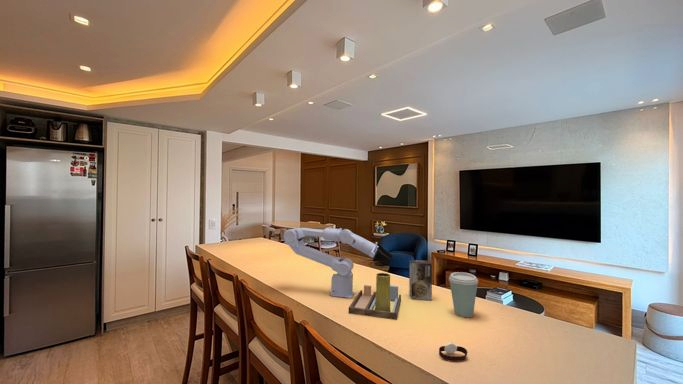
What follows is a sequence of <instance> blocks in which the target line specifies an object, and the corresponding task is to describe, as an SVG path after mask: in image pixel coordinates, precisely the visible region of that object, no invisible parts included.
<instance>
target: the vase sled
mask: <svg viewBox="0 0 683 384" xmlns="http://www.w3.org/2000/svg"><path fill="white" fill-rule="evenodd" d="M398 298H399V286H398V285H391V284H390V301H394V304H393V307H392V310H391V312H394V313H395V310H396V306H397V302H398ZM375 301H376V297H375V299H374V301H373V303H372V305H371V307H370V309H371V310H374V309H375Z"/></svg>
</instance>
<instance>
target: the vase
mask: <svg viewBox="0 0 683 384" xmlns="http://www.w3.org/2000/svg"><path fill="white" fill-rule="evenodd" d="M375 276H376V280H375V281H376V283H375V292H376V301H375V306H374V310H379V311H386V312H392V310H391V300H390V285H391V274H389V273H386V272H378V273H376V275H375Z"/></svg>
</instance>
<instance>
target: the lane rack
mask: <svg viewBox="0 0 683 384" xmlns="http://www.w3.org/2000/svg"><path fill="white" fill-rule="evenodd" d="M362 294H363V290H362V289H361V290H360V291H359V292H358V293H357V295H356V296H355V297H354V299H353V301H352V302H351V303H350V305H349V306H348V314H351V315H357V316H358V315H360V316H366V317H371V318H382V319H388V320H395V321H397V320H398V317H399V311H400V306H401V302H402V294H398V302H397V306H396V310H395V313H394V312H392V311H391V312H386V311H379V310H375V309H373V310H371V309H370V307H371V305H372V303H373V301H374V299H375V297H376V291H373V293H372V294H371V295H372V297H371V299H370V301H369V303H368V304H367V306H366V308H365V309H363V308H356V307H355V305H356V304H357V302H358V300H359V299H360V297H361V296H362Z"/></svg>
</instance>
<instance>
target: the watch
mask: <svg viewBox="0 0 683 384" xmlns="http://www.w3.org/2000/svg"><path fill="white" fill-rule="evenodd" d="M443 352H445V353H447V354H445V353H443ZM456 352H460V353H462V354H464V355H460V356H459V355H458V356H457V355H452V354H454V353H456ZM448 354H450V355H448ZM438 355H439V357H440V358H441V359H442V360H445V361H448V360H450V361H449V362H463V361H465V360H466V359H467V356H468V350H467V349H466V348H465V347H463V346H460V345H459V346H458V345H456V344H455V343H453V342H448V343H446V344H445V345H442V346H439V348H438Z"/></svg>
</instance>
